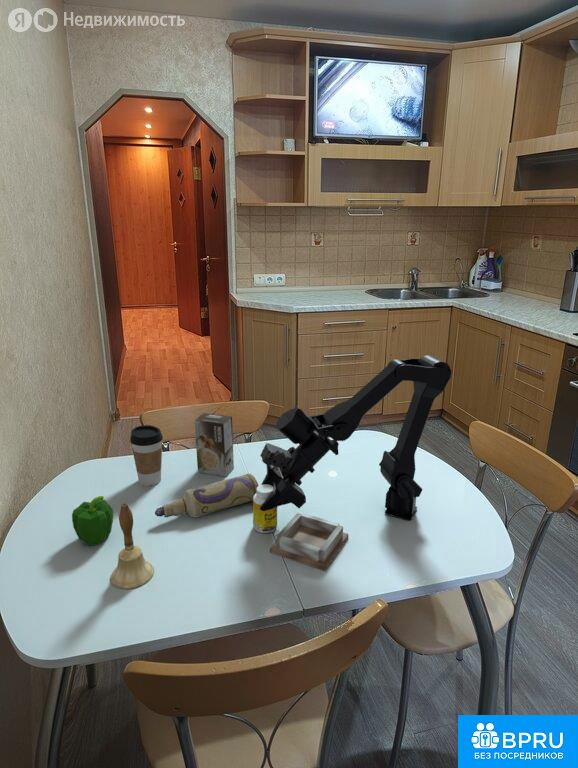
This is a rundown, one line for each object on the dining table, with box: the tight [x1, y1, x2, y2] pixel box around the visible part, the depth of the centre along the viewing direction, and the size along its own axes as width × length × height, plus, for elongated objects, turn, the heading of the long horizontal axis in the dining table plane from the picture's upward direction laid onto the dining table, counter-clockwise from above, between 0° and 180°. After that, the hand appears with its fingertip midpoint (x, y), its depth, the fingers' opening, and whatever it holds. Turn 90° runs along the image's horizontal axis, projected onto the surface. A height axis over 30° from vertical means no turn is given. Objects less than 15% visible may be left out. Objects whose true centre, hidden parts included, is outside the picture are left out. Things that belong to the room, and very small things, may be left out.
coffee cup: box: [129, 424, 164, 487], centre depth 134 cm, size 8×8×15 cm
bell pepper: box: [71, 495, 114, 546], centre depth 109 cm, size 8×8×10 cm
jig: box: [269, 512, 349, 572], centre depth 109 cm, size 13×13×4 cm
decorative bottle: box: [154, 473, 260, 518], centre depth 122 cm, size 26×8×7 cm, turn 119°
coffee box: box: [194, 412, 235, 477], centre depth 140 cm, size 9×6×16 cm
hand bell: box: [110, 502, 155, 590], centre depth 97 cm, size 8×8×16 cm
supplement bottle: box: [252, 484, 278, 534], centre depth 114 cm, size 6×6×10 cm
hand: (259, 503), depth 113 cm, fingers closed on supplement bottle, 6 cm apart
